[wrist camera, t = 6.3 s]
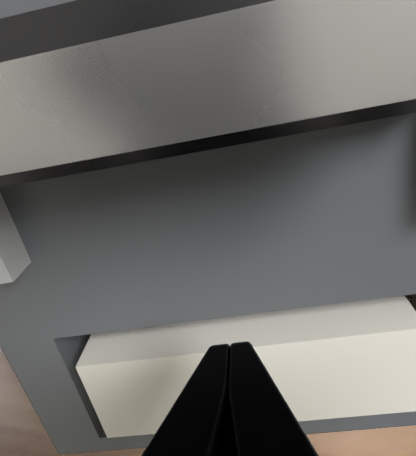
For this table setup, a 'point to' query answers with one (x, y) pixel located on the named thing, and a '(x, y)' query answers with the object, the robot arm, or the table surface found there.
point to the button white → (271, 358)
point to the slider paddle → (192, 77)
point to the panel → (199, 251)
